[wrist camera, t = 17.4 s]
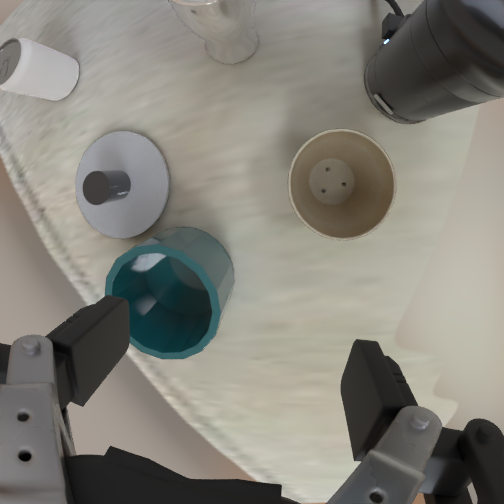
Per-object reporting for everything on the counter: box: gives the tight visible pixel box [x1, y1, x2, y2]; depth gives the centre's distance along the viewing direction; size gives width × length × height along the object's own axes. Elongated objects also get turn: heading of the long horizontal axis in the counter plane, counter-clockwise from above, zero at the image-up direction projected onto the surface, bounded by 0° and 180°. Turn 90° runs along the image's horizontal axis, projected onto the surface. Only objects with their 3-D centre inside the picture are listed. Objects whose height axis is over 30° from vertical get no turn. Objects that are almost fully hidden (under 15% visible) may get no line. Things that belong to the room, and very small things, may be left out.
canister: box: [105, 227, 234, 359], centre depth 33 cm, size 12×12×10 cm
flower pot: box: [288, 129, 396, 240], centre depth 30 cm, size 10×10×7 cm
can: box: [0, 38, 79, 101], centre depth 27 cm, size 6×6×12 cm
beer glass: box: [168, 0, 258, 64], centre depth 23 cm, size 7×7×15 cm
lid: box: [76, 131, 170, 239], centre depth 33 cm, size 13×13×6 cm
